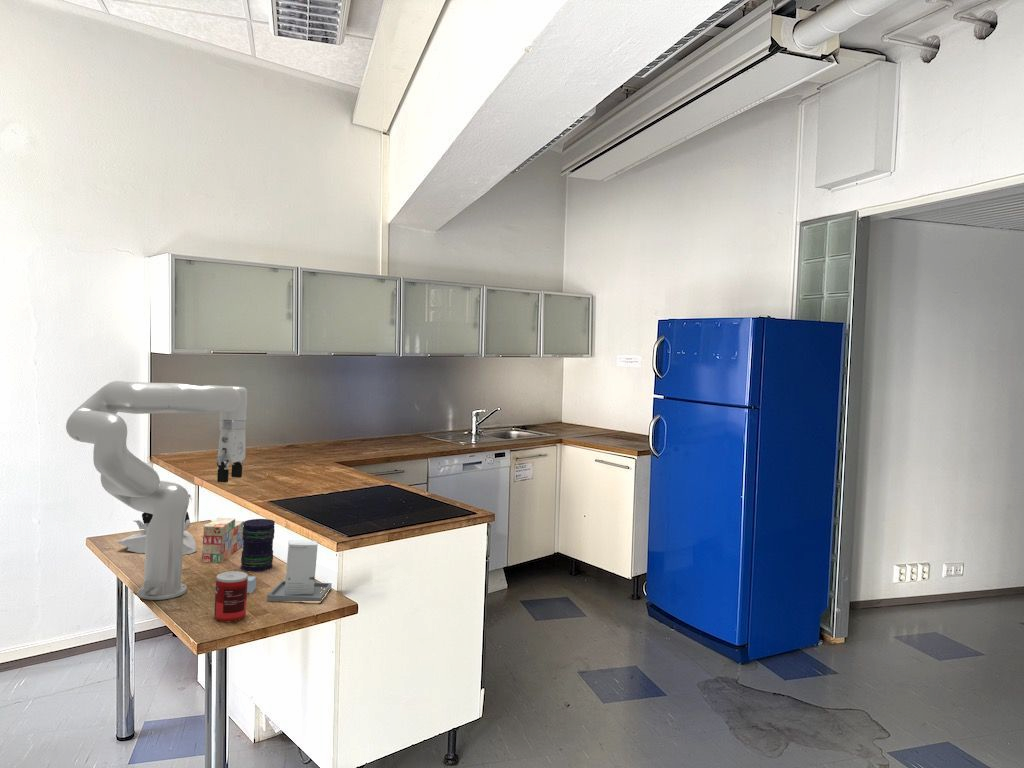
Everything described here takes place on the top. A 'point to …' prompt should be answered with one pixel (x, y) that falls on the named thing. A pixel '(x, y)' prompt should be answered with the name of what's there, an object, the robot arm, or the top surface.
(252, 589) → the blue-grey painted block
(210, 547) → the stack of blocks
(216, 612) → the canned food
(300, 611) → the top surface
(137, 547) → the iron
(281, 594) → the slate tray
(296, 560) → the skincare box
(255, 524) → the storage jar
